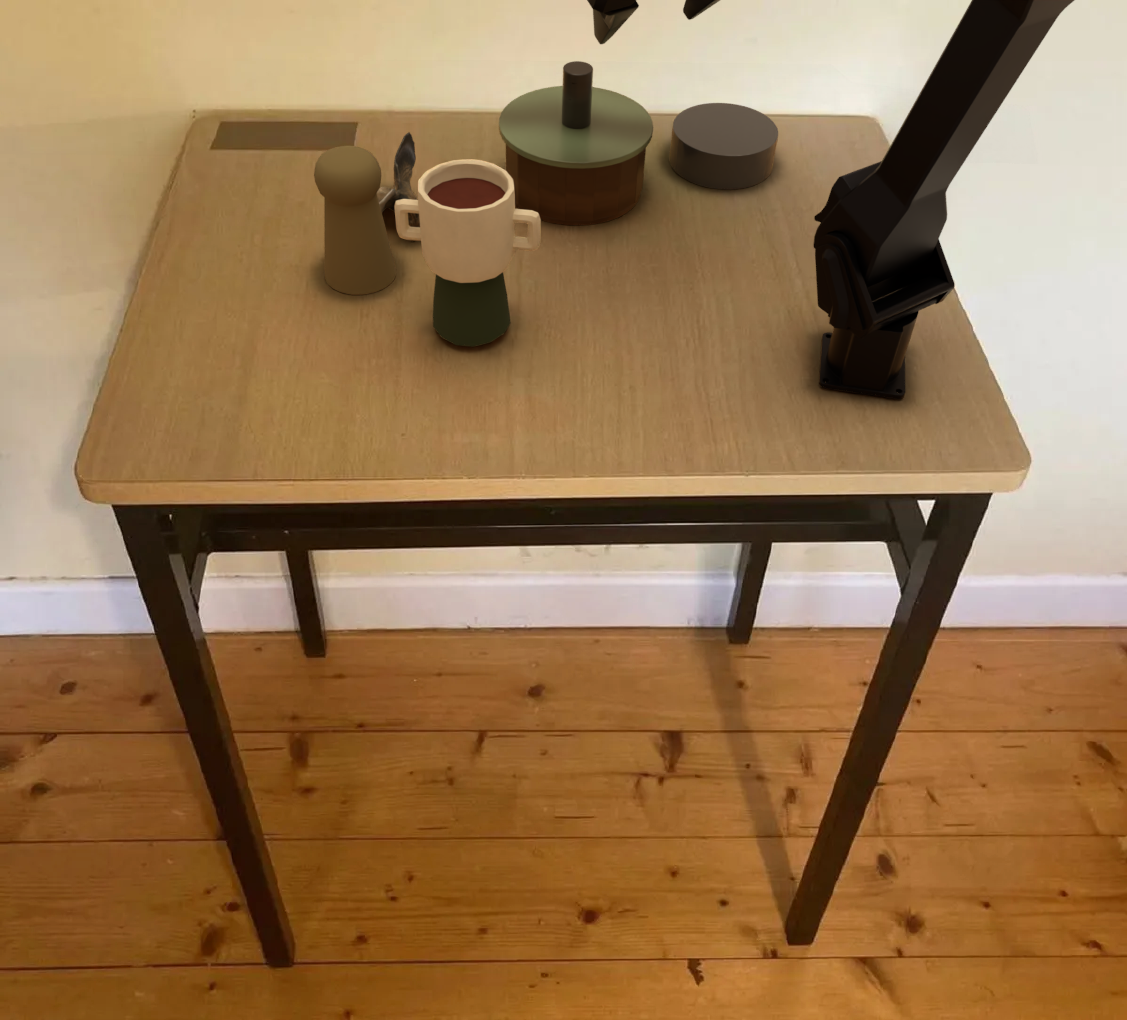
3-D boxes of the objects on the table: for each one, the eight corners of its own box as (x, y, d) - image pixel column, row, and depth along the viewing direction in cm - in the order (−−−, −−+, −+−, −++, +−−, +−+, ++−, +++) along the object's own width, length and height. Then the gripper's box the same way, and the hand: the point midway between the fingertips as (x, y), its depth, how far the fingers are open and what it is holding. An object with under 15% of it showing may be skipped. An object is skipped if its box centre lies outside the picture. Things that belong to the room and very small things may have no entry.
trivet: (768, 195, 105) (774, 161, 102) (662, 182, 106) (666, 148, 103) (775, 142, 111) (781, 109, 109) (676, 130, 112) (679, 97, 110)
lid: (661, 174, 96) (667, 106, 92) (501, 176, 96) (499, 107, 91) (643, 96, 106) (648, 31, 101) (497, 97, 105) (495, 32, 100)
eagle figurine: (472, 216, 99) (431, 152, 103) (433, 172, 93) (390, 106, 96) (405, 268, 100) (367, 203, 104) (362, 229, 94) (323, 161, 98)
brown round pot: (648, 224, 101) (653, 164, 96) (508, 226, 100) (507, 166, 96) (633, 152, 109) (637, 93, 105) (504, 153, 108) (503, 94, 104)
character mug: (544, 307, 92) (547, 164, 83) (533, 362, 87) (534, 218, 78) (414, 295, 93) (402, 152, 83) (395, 349, 88) (380, 204, 78)
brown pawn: (402, 255, 96) (391, 138, 88) (388, 297, 92) (375, 178, 84) (334, 250, 97) (316, 132, 89) (316, 291, 93) (296, 172, 85)
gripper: (756, -233, 85) (682, -67, 99) (551, -198, 78) (502, -24, 92) (834, -124, 83) (748, 30, 97) (631, -77, 75) (569, 83, 90)
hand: (643, 27), depth 94 cm, fingers open, 9 cm apart
